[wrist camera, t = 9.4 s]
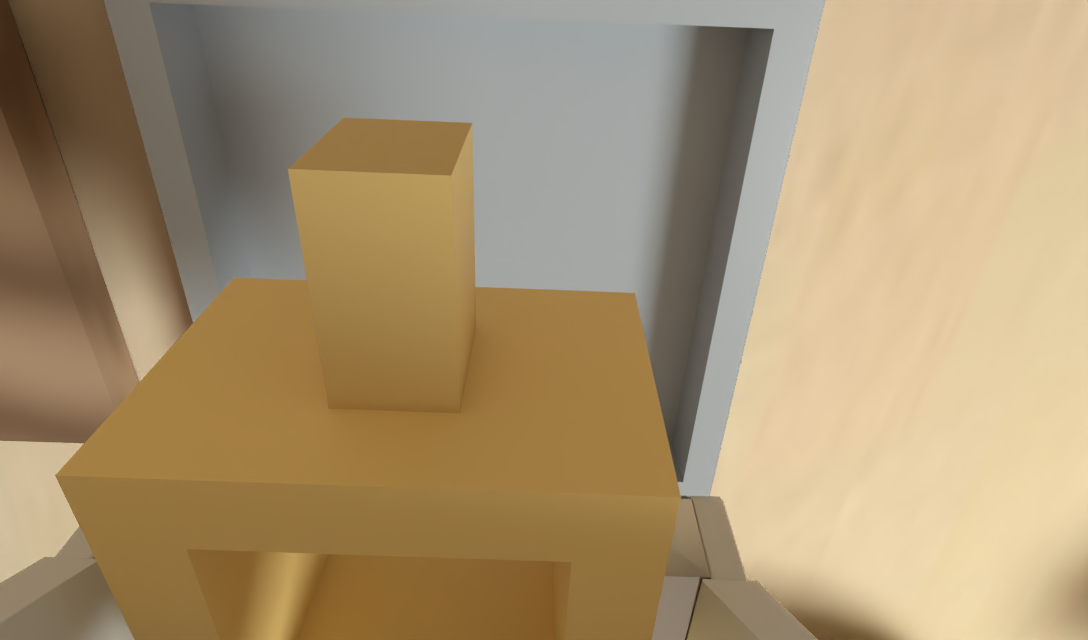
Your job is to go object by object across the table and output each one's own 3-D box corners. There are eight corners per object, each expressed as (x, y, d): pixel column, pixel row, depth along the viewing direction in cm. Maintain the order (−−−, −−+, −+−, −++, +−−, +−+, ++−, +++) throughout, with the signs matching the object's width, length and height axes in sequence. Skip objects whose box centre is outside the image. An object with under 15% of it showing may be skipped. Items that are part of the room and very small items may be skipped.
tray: (693, 454, 24) (707, 504, 22) (266, 441, 24) (239, 490, 22) (792, -26, 16) (829, -20, 14) (150, -54, 16) (89, -51, 14)
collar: (601, 557, 14) (619, 792, 10) (297, 547, 14) (202, 780, 10) (657, 107, 9) (734, 237, 5) (189, 87, 9) (-75, 206, 5)
